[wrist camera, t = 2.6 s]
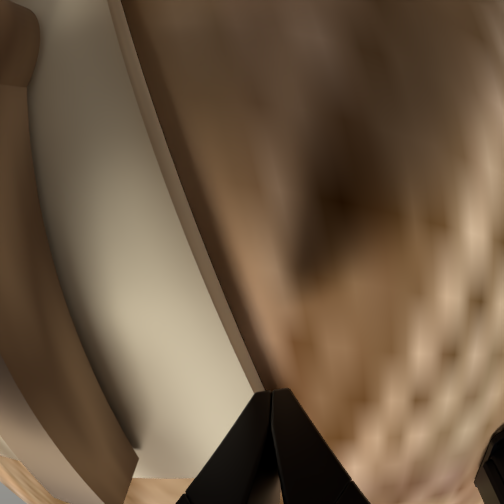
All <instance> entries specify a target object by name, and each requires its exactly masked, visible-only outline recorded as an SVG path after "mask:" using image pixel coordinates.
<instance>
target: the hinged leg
mask: <svg viewBox="0 0 504 504" xmlns="http://www.w3.org/2000/svg"><path fill="white" fill-rule="evenodd" d="M39 47H40V27H39V22H38V19H37V17H36V15H35V14H34V13H33V12H32V11H31V10H30V9H28V8H26V7H24V6H21V5H19V4H16V3H14V2H11V1H9V0H0V436H1V437H2V439H3V440H4V441H5V443H6V444H7V445H8V447H9V448H10V449H11V450H12V452H13V453H14V454H15V455H16V457H17V458H18V459H19V460H20V461H21V462H22V464H23V465H24V466H25V467H26V468H27V469H28V471H29V472H30V473H31V474H32V475H33V476H34V477H35V478H36V479H37V480H38V482H39V483H40V484H41V485H42V486H43V487H44V488H45V489H46V490H47V491H48V492H49V493H50V494H51V495H52V496H53V497H54V498H57V499H59V500H62V501H65V502H68V503H71V504H123V503H124V500H125V497H126V494H127V491H128V488H129V486H130V483H131V480H132V477H133V474H134V472H135V469H136V466H137V463H138V461H139V457H138V456H137V454H136V452H135V451H134V449H133V447H132V446H131V444H130V442H129V441H128V439H127V437H126V435H125V434H124V432H123V430H122V428H121V426H120V425H119V423H118V421H117V419H116V417H115V415H114V413H113V411H112V410H111V408H110V406H109V404H108V402H107V400H106V398H105V396H104V394H103V392H102V389H101V387H100V385H99V383H98V381H97V379H96V377H95V374H94V372H93V370H92V368H91V366H90V363H89V361H88V359H87V356H86V354H85V351H84V349H83V347H82V344H81V342H80V339H79V337H78V334H77V331H76V329H75V326H74V324H73V321H72V318H71V315H70V312H69V310H68V307H67V304H66V301H65V298H64V295H63V292H62V289H61V286H60V282H59V279H58V276H57V272H56V269H55V265H54V262H53V258H52V255H51V251H50V247H49V243H48V239H47V235H46V231H45V226H44V222H43V217H42V213H41V208H40V203H39V197H38V192H37V186H36V180H35V174H34V167H33V160H32V152H31V143H30V133H29V121H28V105H27V86H28V84H29V82H30V79H31V77H32V75H33V72H34V69H35V66H36V62H37V58H38V53H39Z"/></svg>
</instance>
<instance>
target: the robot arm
mask: <svg viewBox="0 0 504 504" xmlns="http://www.w3.org/2000/svg"><path fill="white" fill-rule="evenodd" d="M474 484H475V486H476V487H477V488H478V490H479V492H480V495H481V497H482V499H483V502H484V504H504V431H503V432H501V433H499V434H498V435H496V436H495V437H494V438H493V439H492V440H491V442H490V444H489V447H488V450H487V452H486V455H485V457H484V460H483V462H482V465H481V467H480V469H479V472H478V474H477V476H476V479H475V481H474ZM280 491H282V497H283V502H284V504H371V503H370V502H369V501H368V499H367V498H366V497H365V496H364V494H363V493H362V492H361V491H360V489H359V488H358V486H357V485H356V484H355V482H354V481H352V479H351V477H350V476H349V474H348V473H347V471H346V470H345V469H344V467H343V466H342V464H341V463H340V462H339V460H338V459H337V457H336V456H335V454H334V453H333V452H332V450H331V449H330V447H329V446H328V444H327V443H326V442H325V440H324V439H323V437H322V436H321V434H320V433H319V431H318V430H317V428H316V427H315V426H314V424H313V423H312V421H311V420H310V418H309V417H308V415H307V414H306V412H305V411H304V409H303V408H302V406H301V405H300V403H299V402H298V400H297V399H296V397H295V396H294V394H293V393H292V391H291V390H290V389H289V388H282V389H275V390H273V392H272V391H270V390H267V391H259V392H255V393H254V394H253V396H252V397H251V399H250V401H249V402H248V404H247V405H246V407H245V408H244V410H243V411H242V413H241V414H240V416H239V417H238V419H237V420H236V421H235V423H234V424H233V426H232V427H231V429H230V430H229V432H228V433H227V435H226V436H225V438H224V439H223V440H222V442H221V443H220V445H219V446H218V447H217V449H216V450H215V452H214V453H213V455H212V456H211V457H210V459H209V460H208V461H207V463H206V464H205V466H204V467H203V468H202V470H201V471H200V472H199V474H198V475H197V476H196V478H195V479H194V480H193V482H192V483H191V484H190V486H189V487H188V488H187V490H186V491H185V492H186V494H183V495H182V496H181V497H180V499H179V500H178V501H177V502H176V504H279V503H280Z"/></svg>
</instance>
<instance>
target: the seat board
mask: <svg viewBox="0 0 504 504" xmlns="http://www.w3.org/2000/svg"><path fill="white" fill-rule="evenodd" d="M9 1H11V2H14V3H16V4H19V5H21V6H24V7H26V8H28V9H30V10H31V11H32V12H33V13H34V14H35V15H36V17H37V19H38V22H39V27H40V47H39V53H38V58H37V62H36V66H35V69H34V72H33V75H32V77H31V79H30V82H29V84H28V86H27V105H28V121H29V133H30V143H31V152H32V160H33V167H34V174H35V180H36V186H37V192H38V197H39V203H40V208H41V213H42V217H43V222H44V226H45V231H46V235H47V239H48V243H49V247H50V251H51V255H52V258H53V262H54V265H55V269H56V272H57V276H58V279H59V282H60V286H61V289H62V292H63V295H64V298H65V301H66V304H67V307H68V310H69V312H70V315H71V318H72V321H73V324H74V326H75V329H76V331H77V334H78V337H79V339H80V342H81V344H82V347H83V349H84V351H85V354H86V356H87V359H88V361H89V363H90V366H91V368H92V370H93V372H94V374H95V377H96V379H97V381H98V383H99V385H100V387H101V389H102V392H103V394H104V396H105V398H106V400H107V402H108V404H109V406H110V408H111V410H112V411H113V413H114V415H115V417H116V419H117V421H118V423H119V425H120V426H121V428H122V430H123V432H124V434H125V435H126V437H127V439H128V441H129V442H130V444H131V446H132V447H133V449H134V451H135V452H136V454H137V456H138V457H139V461H138V463H137V466H136V469H135V472H134V474H133V477H132V478H161V479H176V478H196V476H197V475H198V474H199V472H200V471H201V470H202V468H203V467H204V466H205V464H206V463H207V461H208V460H209V459H210V457H211V456H212V455H213V453H214V452H215V450H216V449H217V447H218V446H219V445H220V443H221V442H222V440H223V439H224V438H225V436H226V435H227V433H228V432H229V430H230V429H231V427H232V426H233V424H234V423H235V421H236V420H237V419H238V417H239V416H240V414H241V413H242V411H243V410H244V408H245V407H246V405H247V404H248V402H249V401H250V399H251V397H252V396H253V394H254V393H255V392H259V391H265V389H264V387H263V385H262V383H261V380H260V378H259V376H258V374H257V371H256V369H255V367H254V365H253V362H252V360H251V358H250V355H249V353H248V351H247V348H246V346H245V344H244V341H243V339H242V337H241V334H240V332H239V330H238V327H237V325H236V322H235V320H234V318H233V315H232V313H231V310H230V308H229V306H228V303H227V301H226V298H225V296H224V293H223V291H222V288H221V286H220V283H219V281H218V279H217V276H216V274H215V271H214V269H213V266H212V263H211V261H210V258H209V256H208V253H207V251H206V248H205V246H204V243H203V241H202V238H201V235H200V233H199V230H198V228H197V225H196V222H195V220H194V217H193V214H192V212H191V209H190V207H189V204H188V201H187V198H186V196H185V193H184V190H183V188H182V185H181V182H180V180H179V177H178V174H177V171H176V169H175V166H174V163H173V160H172V157H171V155H170V152H169V149H168V146H167V143H166V140H165V138H164V135H163V132H162V129H161V126H160V123H159V120H158V117H157V114H156V111H155V108H154V106H153V103H152V100H151V97H150V94H149V91H148V87H147V84H146V81H145V78H144V75H143V72H142V69H141V66H140V63H139V60H138V56H137V53H136V50H135V47H134V44H133V40H132V37H131V34H130V31H129V27H128V24H127V21H126V17H125V14H124V10H123V7H122V3H121V0H9ZM0 456H4V457H7V458H11V459H15V460H19V459H18V458H17V457H16V455H15V454H14V453H13V452H12V450H11V449H10V448H9V447H8V445H7V444H6V443H5V441H4V440H3V439H2V437H1V436H0ZM19 461H20V460H19Z"/></svg>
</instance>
